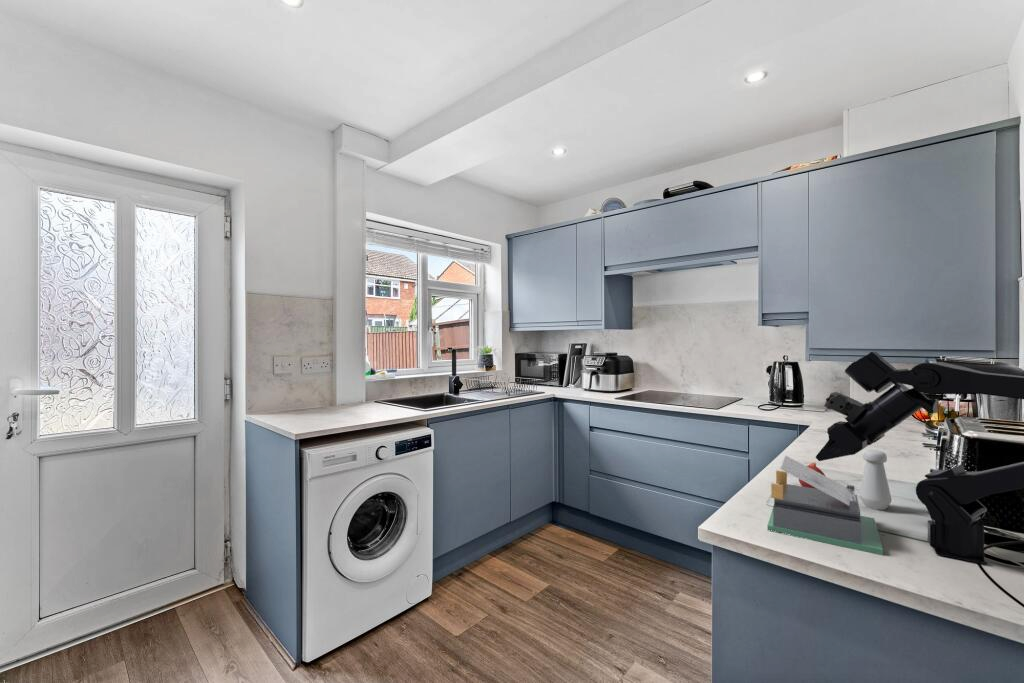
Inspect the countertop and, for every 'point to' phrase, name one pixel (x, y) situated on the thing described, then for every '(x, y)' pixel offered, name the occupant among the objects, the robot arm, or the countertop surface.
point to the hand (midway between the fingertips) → (824, 455)
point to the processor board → (868, 540)
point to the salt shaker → (875, 481)
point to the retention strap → (818, 480)
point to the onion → (813, 466)
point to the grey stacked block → (814, 511)
